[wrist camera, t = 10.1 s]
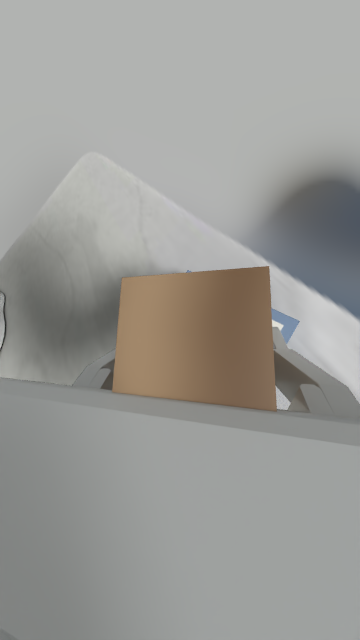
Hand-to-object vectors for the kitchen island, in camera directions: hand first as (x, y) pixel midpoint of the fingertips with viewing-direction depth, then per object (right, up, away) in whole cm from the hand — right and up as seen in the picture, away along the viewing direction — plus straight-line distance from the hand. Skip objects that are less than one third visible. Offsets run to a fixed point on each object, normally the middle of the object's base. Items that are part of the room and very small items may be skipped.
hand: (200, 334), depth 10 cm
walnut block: (+1, -1, +5) cm, 5 cm away
